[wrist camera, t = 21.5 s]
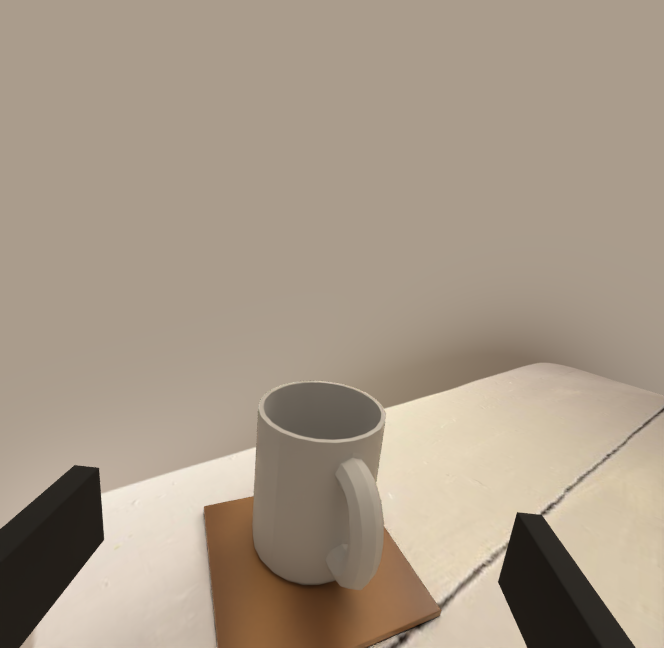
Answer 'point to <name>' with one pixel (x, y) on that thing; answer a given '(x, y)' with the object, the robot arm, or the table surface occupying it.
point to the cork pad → (303, 594)
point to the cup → (319, 484)
